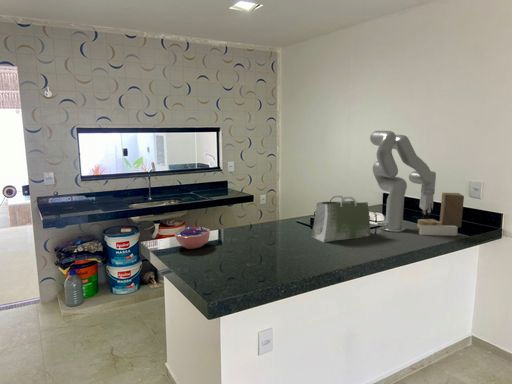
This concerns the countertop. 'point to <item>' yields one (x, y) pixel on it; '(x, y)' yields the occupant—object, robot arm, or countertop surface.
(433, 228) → the cream board
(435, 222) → the oak block
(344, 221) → the grocery bag
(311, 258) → the countertop surface
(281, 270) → the countertop surface
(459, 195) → the wooden block
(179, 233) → the cell model
